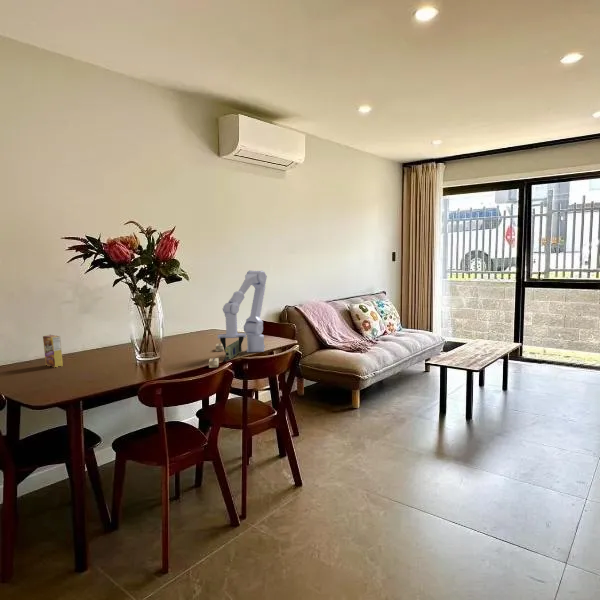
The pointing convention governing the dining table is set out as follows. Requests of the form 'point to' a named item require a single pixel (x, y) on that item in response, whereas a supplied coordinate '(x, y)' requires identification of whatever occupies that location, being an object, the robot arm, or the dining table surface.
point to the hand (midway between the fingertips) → (232, 351)
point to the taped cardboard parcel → (215, 361)
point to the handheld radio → (232, 350)
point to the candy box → (52, 350)
